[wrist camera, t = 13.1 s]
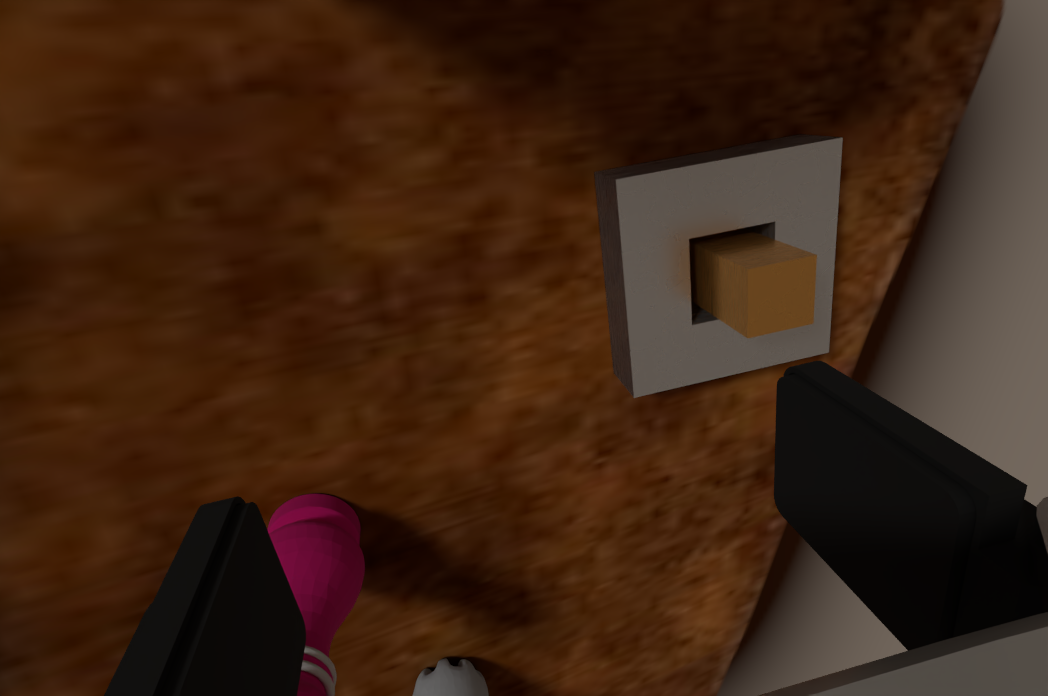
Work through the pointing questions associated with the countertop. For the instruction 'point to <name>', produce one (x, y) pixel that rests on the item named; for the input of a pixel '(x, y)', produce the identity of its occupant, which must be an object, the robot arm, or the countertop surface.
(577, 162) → the countertop surface
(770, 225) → the white flat block
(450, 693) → the bottle
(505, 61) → the countertop surface
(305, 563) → the pepper mill
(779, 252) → the wooden block
